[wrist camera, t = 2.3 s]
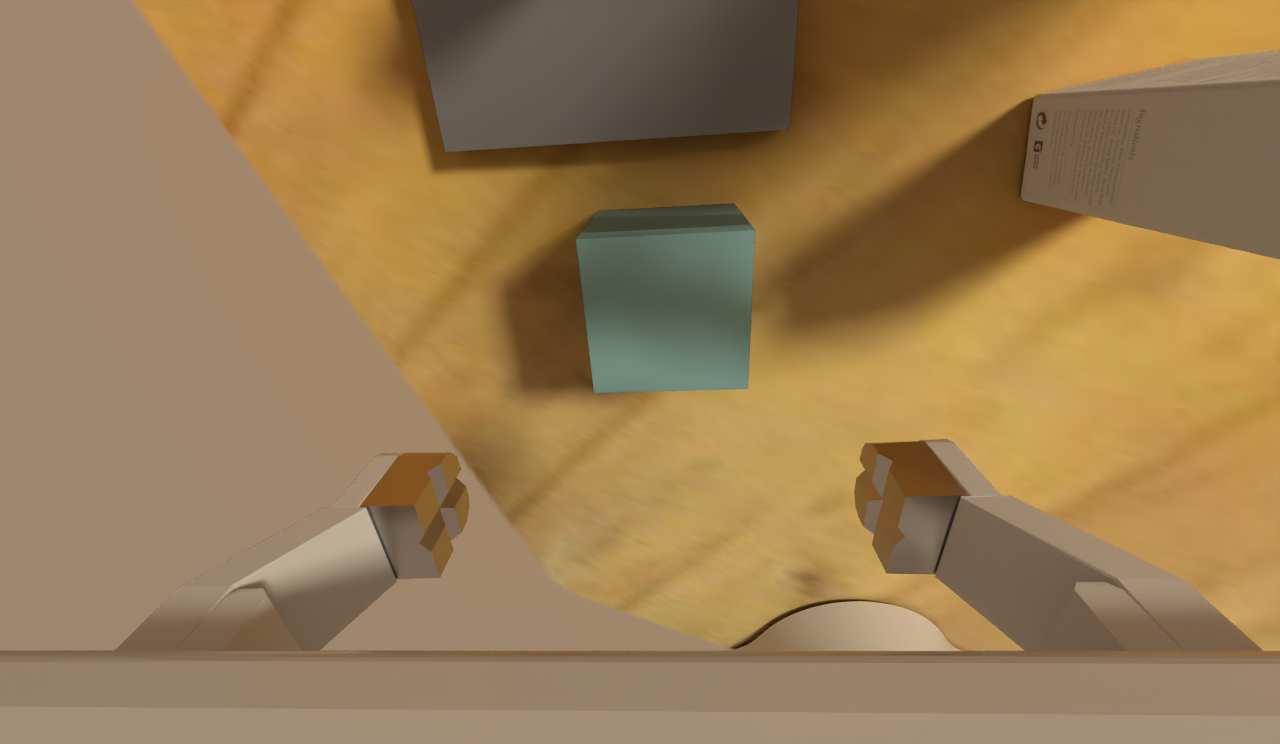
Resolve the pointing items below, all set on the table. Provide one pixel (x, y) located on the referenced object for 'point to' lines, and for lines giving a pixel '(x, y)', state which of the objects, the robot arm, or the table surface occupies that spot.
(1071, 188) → the skincare box
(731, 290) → the sage green cube
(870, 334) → the table surface
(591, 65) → the post block
